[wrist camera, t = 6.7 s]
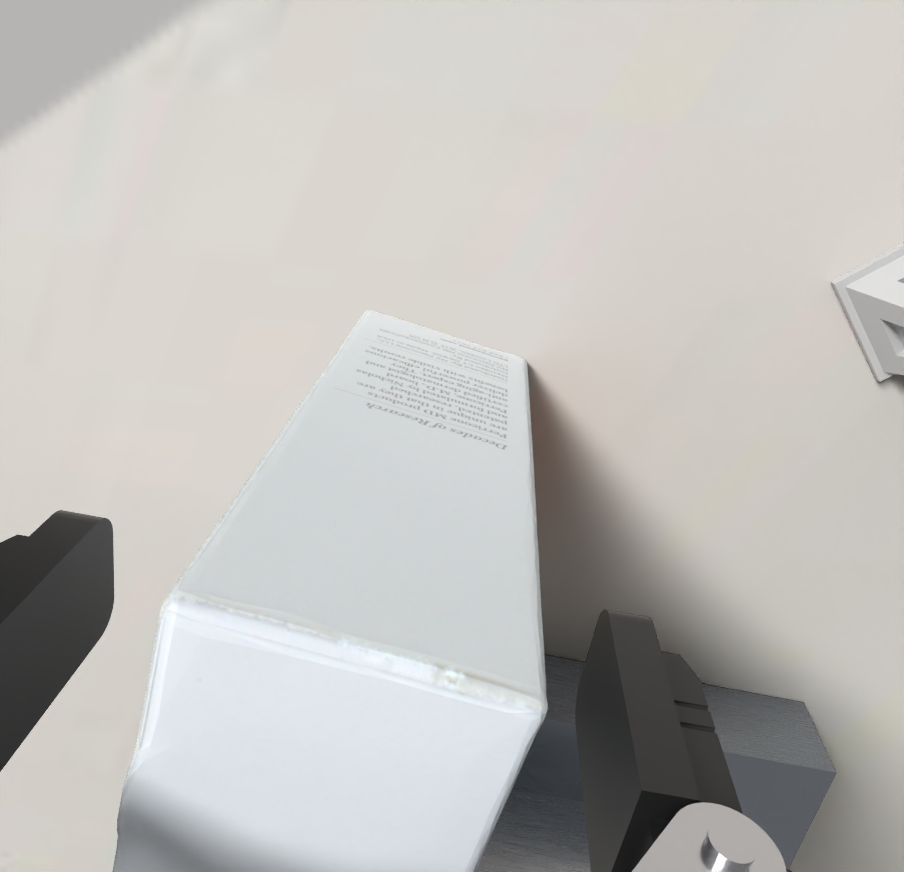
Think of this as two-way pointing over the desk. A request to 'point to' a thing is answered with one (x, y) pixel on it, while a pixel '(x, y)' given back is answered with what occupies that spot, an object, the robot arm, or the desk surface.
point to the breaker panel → (746, 753)
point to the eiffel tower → (877, 310)
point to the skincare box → (354, 630)
